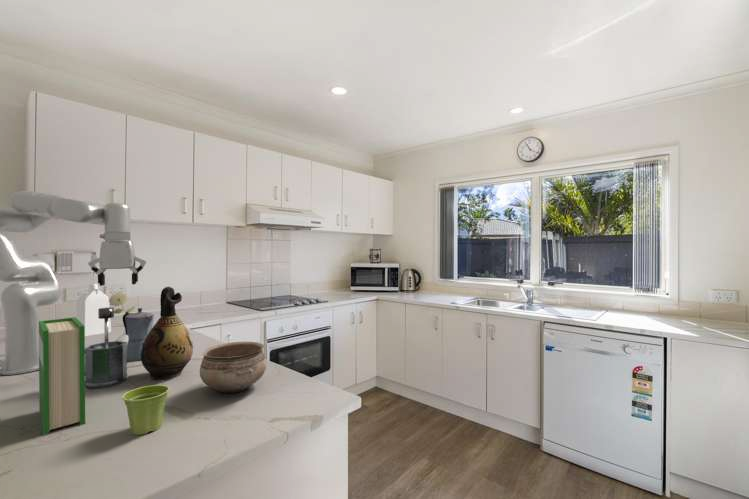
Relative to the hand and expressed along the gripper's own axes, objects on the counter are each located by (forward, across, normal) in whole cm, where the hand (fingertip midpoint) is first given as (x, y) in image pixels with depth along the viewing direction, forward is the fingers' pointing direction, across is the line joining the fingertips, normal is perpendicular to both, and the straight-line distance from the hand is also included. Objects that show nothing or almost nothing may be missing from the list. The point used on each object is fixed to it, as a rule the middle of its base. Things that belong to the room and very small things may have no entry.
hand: (118, 284), depth 127 cm
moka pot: (+31, +3, +12) cm, 33 cm away
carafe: (+30, -1, -14) cm, 34 cm away
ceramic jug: (+31, +17, -14) cm, 38 cm away
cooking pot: (+31, +38, -38) cm, 62 cm away
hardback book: (+31, -3, -40) cm, 50 cm away
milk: (+30, -30, +76) cm, 88 cm away
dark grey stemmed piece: (+21, 0, -14) cm, 25 cm away
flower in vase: (+31, -6, +38) cm, 49 cm away
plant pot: (+31, +19, -55) cm, 66 cm away
